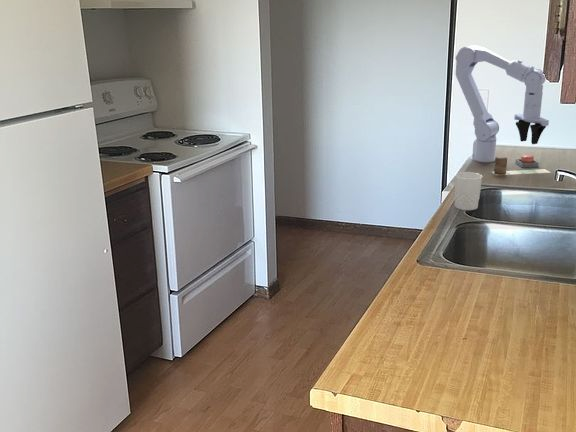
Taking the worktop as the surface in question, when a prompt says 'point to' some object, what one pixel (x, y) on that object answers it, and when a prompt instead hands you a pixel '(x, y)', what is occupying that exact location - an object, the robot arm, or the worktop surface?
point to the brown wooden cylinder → (500, 165)
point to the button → (527, 159)
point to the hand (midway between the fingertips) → (528, 142)
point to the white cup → (467, 190)
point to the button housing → (518, 162)
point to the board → (525, 172)
